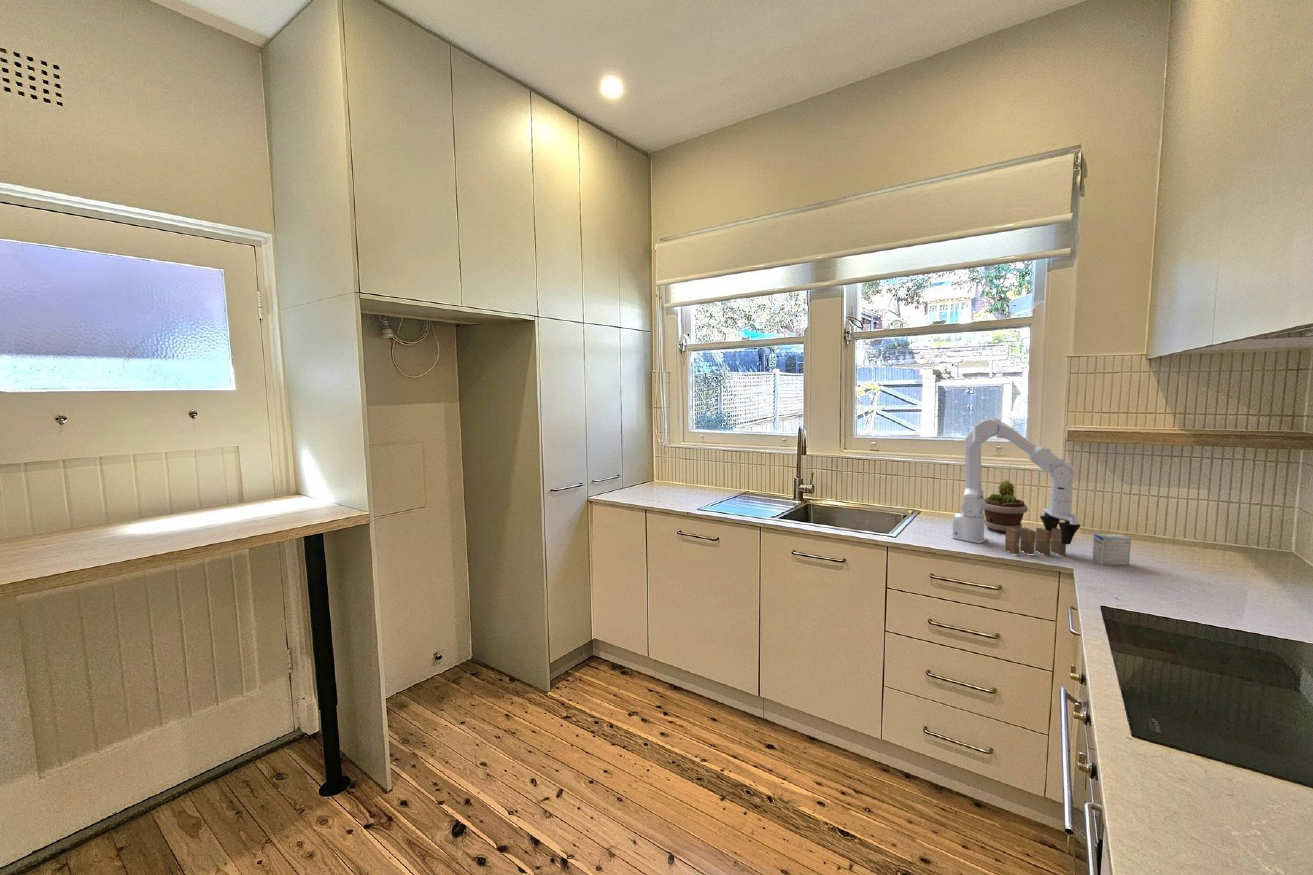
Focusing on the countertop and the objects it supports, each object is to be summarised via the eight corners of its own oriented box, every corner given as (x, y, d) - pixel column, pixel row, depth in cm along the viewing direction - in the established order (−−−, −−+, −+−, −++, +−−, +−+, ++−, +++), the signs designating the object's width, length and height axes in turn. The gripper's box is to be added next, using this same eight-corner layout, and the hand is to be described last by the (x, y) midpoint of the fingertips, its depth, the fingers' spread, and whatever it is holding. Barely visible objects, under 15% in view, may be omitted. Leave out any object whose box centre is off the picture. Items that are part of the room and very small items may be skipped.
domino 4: (1060, 555, 173) (1061, 531, 173) (1050, 551, 178) (1051, 527, 177) (1065, 556, 173) (1066, 532, 172) (1055, 551, 178) (1056, 527, 177)
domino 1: (1013, 555, 174) (1014, 531, 174) (1004, 550, 179) (1006, 527, 179) (1018, 555, 174) (1020, 531, 174) (1009, 550, 179) (1011, 527, 179)
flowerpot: (1019, 538, 194) (1023, 483, 192) (973, 529, 205) (975, 478, 203) (1031, 530, 203) (1034, 478, 201) (986, 523, 215) (989, 474, 213)
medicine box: (1118, 561, 168) (1120, 534, 167) (1129, 565, 163) (1131, 538, 163) (1091, 560, 169) (1093, 533, 168) (1101, 565, 164) (1103, 537, 163)
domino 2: (1028, 555, 174) (1030, 531, 173) (1019, 550, 179) (1021, 527, 178) (1034, 555, 174) (1035, 531, 173) (1024, 550, 179) (1026, 527, 178)
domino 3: (1044, 555, 174) (1046, 531, 173) (1034, 551, 179) (1036, 527, 178) (1049, 555, 174) (1051, 531, 173) (1040, 551, 178) (1041, 527, 178)
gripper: (1090, 505, 166) (1087, 547, 168) (1059, 495, 181) (1056, 534, 182) (1066, 504, 167) (1063, 547, 168) (1037, 495, 181) (1034, 534, 183)
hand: (1058, 540), depth 175 cm, fingers open, 7 cm apart
